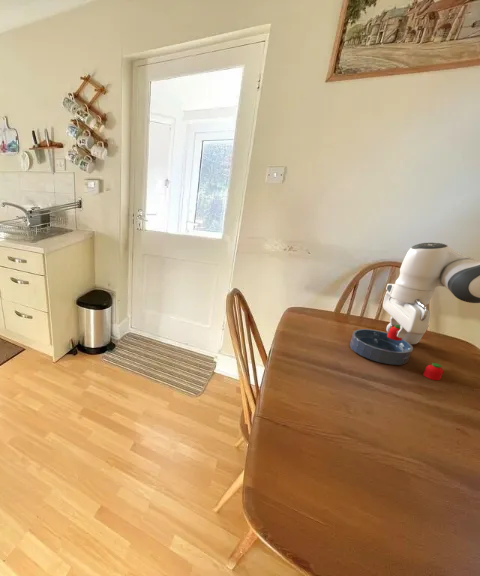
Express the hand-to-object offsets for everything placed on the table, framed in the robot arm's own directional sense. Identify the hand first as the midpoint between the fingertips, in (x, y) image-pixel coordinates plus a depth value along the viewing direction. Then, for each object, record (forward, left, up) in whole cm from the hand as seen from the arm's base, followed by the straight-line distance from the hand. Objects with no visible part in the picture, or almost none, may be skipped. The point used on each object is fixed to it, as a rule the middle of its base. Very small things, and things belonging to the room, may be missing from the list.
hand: (396, 333), depth 102 cm
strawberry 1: (0, 0, -2) cm, 2 cm away
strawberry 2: (-7, +10, -8) cm, 15 cm away
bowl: (+3, 0, -8) cm, 9 cm away
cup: (-8, -13, -8) cm, 17 cm away
